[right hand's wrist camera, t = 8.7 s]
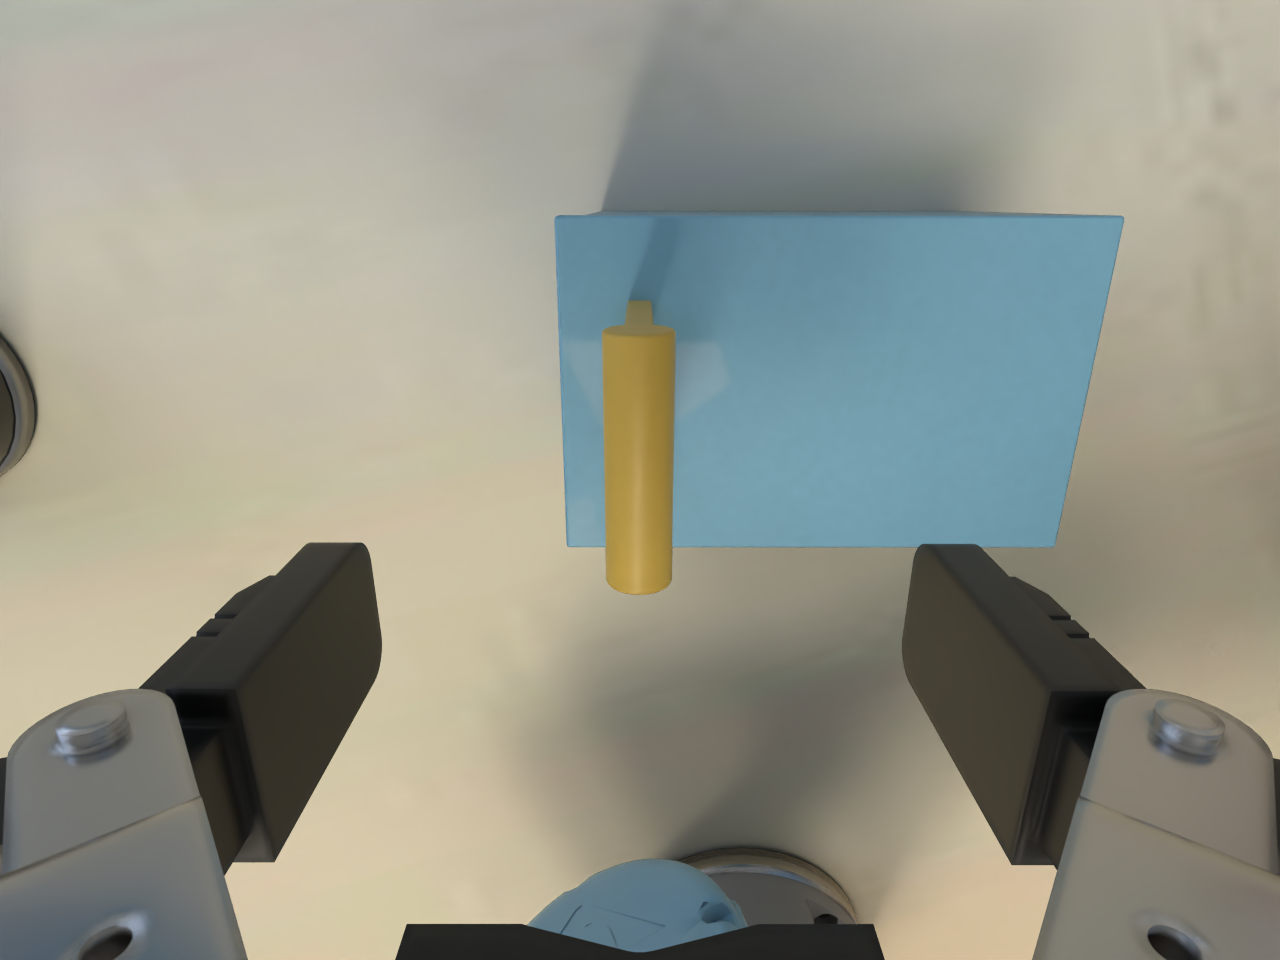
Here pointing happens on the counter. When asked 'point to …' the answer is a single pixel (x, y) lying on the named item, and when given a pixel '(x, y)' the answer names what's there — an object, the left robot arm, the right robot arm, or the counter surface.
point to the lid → (822, 379)
